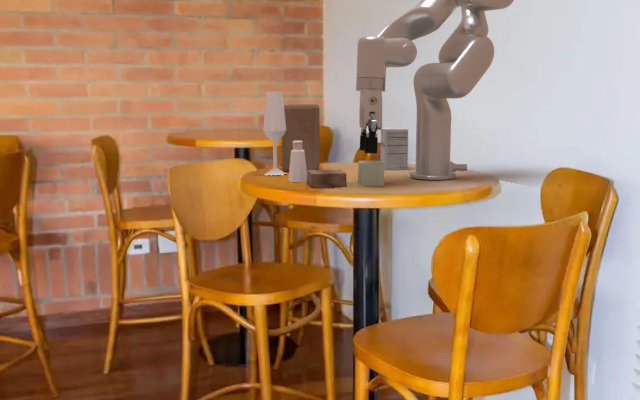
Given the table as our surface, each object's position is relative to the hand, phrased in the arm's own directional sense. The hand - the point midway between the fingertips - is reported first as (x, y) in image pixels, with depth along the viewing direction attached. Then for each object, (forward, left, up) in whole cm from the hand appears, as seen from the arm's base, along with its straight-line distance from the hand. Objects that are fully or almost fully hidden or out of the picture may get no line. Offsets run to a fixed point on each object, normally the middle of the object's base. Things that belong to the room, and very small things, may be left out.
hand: (368, 151), depth 186 cm
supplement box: (-13, -35, -9) cm, 38 cm away
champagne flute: (+24, -24, -9) cm, 35 cm away
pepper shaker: (+18, -8, -9) cm, 22 cm away
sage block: (-1, -1, -9) cm, 9 cm away
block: (+16, -34, -9) cm, 38 cm away
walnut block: (+11, +1, -9) cm, 14 cm away
